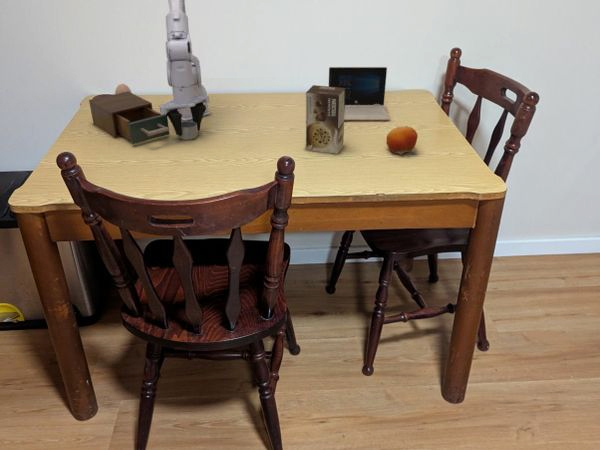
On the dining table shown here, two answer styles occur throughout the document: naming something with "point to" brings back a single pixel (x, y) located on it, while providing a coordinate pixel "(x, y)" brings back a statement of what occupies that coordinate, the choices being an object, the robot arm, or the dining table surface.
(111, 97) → the cabinet
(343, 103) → the cookie box
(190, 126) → the grey plastic pail
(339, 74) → the laptop
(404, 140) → the fruit
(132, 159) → the dining table surface
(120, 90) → the egg
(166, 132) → the drawer
